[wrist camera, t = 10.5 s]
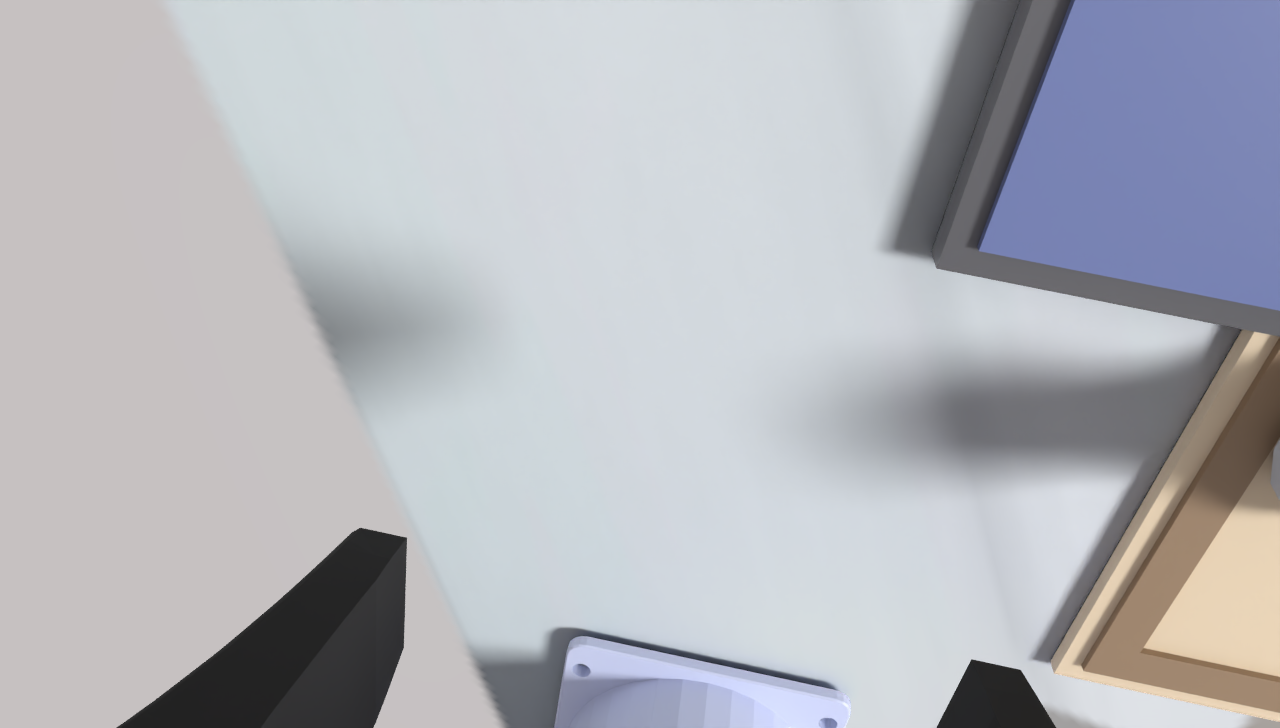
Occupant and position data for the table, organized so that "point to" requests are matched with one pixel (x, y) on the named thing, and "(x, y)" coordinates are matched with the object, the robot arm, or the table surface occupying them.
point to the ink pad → (1130, 159)
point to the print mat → (1199, 559)
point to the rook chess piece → (1276, 470)
